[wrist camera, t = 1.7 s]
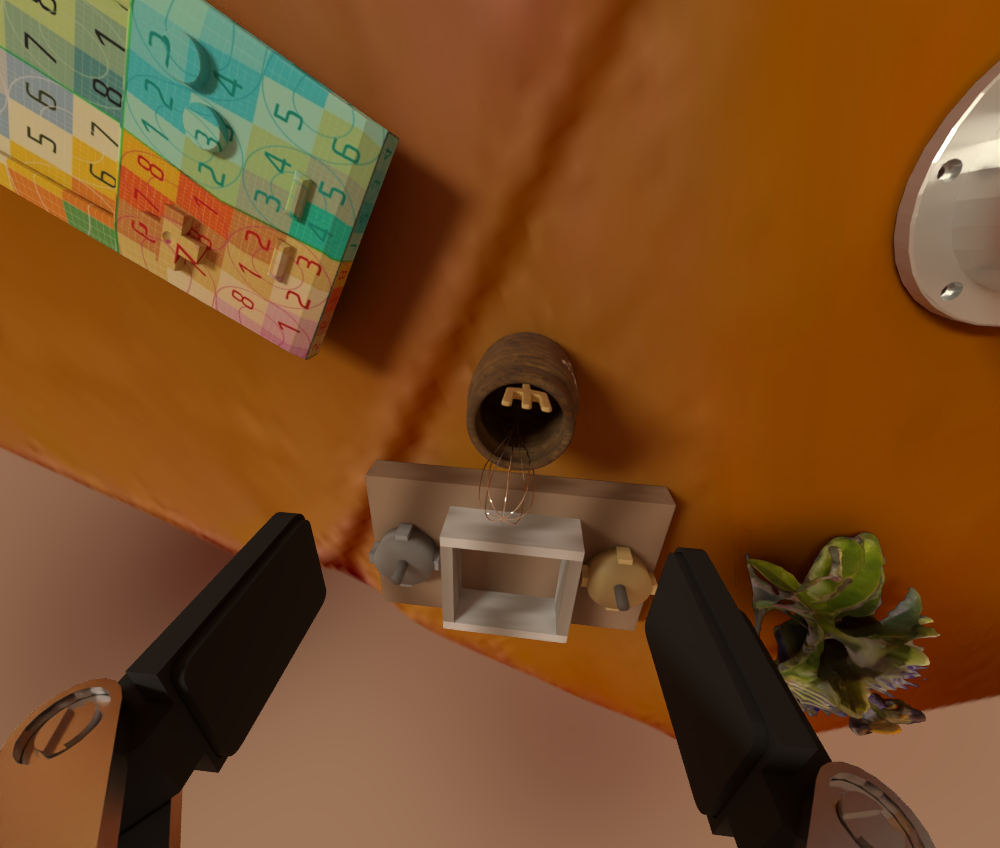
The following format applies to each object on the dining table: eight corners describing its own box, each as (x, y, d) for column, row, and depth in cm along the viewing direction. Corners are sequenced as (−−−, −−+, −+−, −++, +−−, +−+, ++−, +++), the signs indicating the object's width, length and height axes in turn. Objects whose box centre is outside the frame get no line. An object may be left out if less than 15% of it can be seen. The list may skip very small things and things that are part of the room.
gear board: (666, 487, 26) (693, 538, 21) (628, 608, 32) (643, 669, 27) (376, 459, 27) (344, 503, 23) (392, 581, 33) (369, 634, 29)
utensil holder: (474, 412, 25) (424, 543, 14) (484, 316, 22) (429, 390, 11) (562, 425, 24) (579, 569, 14) (583, 331, 21) (626, 420, 11)
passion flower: (765, 553, 34) (776, 707, 29) (687, 514, 31) (683, 681, 25) (944, 554, 25) (1008, 782, 20) (862, 497, 21) (913, 758, 16)
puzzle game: (296, 365, 19) (-127, 124, 16) (339, 342, 24) (10, 148, 20) (380, 125, 14) (-209, -293, 11) (416, 151, 19) (-5, -148, 15)
